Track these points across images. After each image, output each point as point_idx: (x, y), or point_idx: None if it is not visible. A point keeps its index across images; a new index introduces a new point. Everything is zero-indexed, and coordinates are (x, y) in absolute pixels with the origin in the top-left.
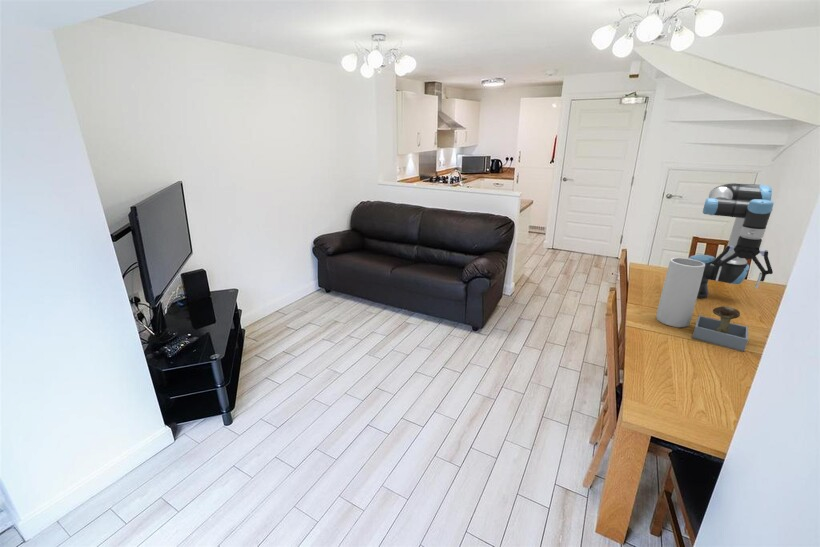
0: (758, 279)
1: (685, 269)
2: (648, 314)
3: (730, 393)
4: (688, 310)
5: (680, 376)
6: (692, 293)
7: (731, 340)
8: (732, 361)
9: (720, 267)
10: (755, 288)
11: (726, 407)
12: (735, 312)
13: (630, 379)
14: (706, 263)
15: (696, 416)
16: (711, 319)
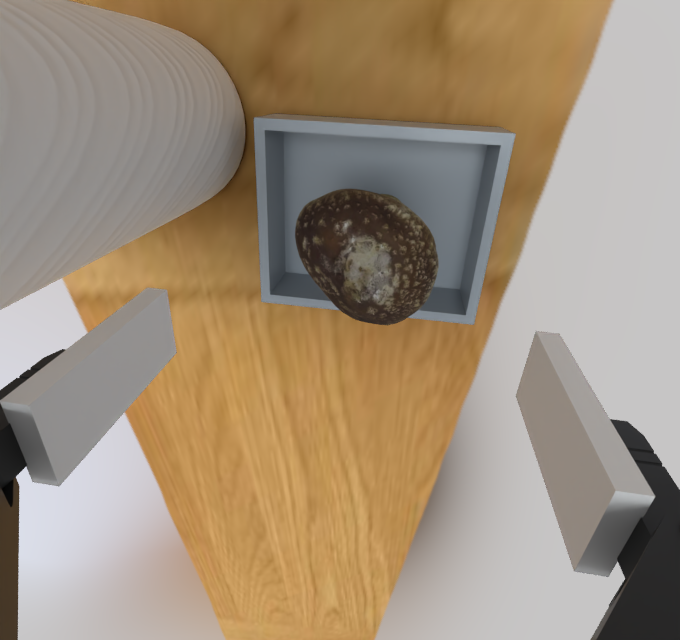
0: (549, 490)
1: None
2: None
3: (389, 546)
4: (188, 204)
5: (283, 525)
6: (114, 242)
7: None
8: (412, 392)
9: (43, 478)
10: (518, 395)
11: (377, 589)
12: (403, 309)
13: (197, 569)
14: None
15: (326, 623)
16: (323, 133)
